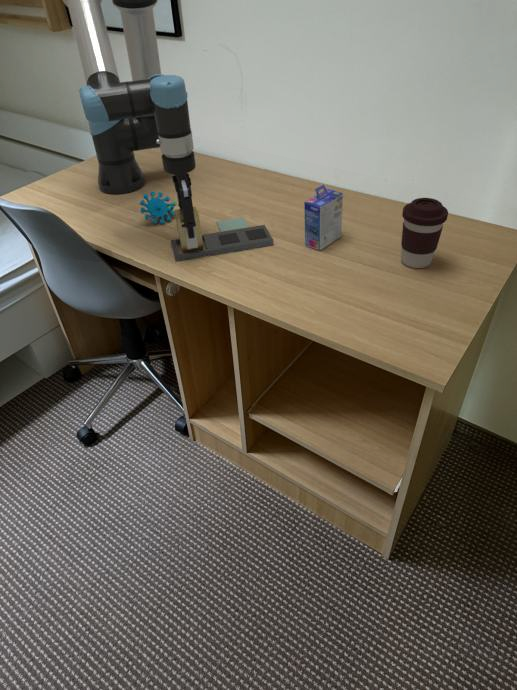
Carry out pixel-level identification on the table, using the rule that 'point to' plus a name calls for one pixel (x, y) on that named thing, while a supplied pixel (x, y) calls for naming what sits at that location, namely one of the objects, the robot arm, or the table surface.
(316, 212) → the ink cartridge box
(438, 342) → the table surface
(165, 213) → the blue spiky knobbed toy
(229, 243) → the rail
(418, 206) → the coffee cup
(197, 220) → the wooden speaker box
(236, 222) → the translucent green panel
